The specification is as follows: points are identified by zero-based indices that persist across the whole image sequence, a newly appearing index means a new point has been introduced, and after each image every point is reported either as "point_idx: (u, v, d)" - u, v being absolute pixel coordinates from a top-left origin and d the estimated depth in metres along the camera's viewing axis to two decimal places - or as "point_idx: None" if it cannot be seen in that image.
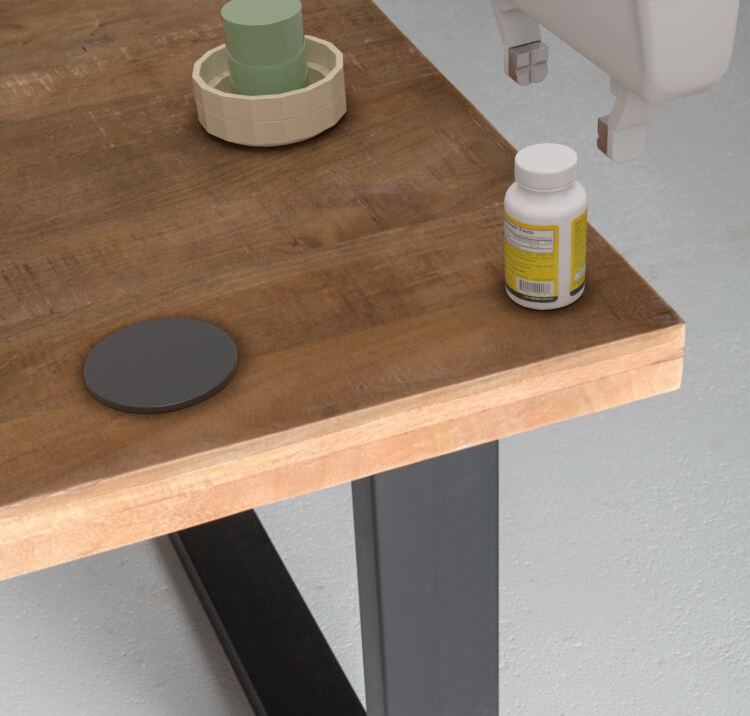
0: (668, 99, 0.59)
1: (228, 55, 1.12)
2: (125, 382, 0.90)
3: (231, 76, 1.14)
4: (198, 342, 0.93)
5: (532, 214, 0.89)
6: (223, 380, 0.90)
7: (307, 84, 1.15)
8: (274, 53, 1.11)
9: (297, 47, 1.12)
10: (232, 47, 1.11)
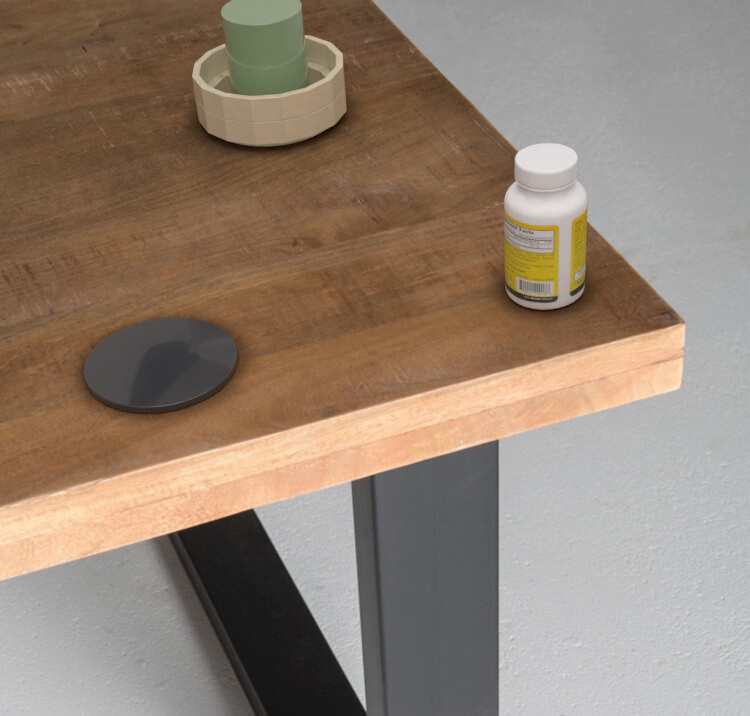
0: None
1: (228, 55, 1.12)
2: (125, 382, 0.90)
3: (231, 76, 1.14)
4: (198, 342, 0.93)
5: (532, 214, 0.89)
6: (223, 380, 0.90)
7: (307, 84, 1.15)
8: (274, 53, 1.11)
9: (297, 47, 1.12)
10: (232, 47, 1.11)
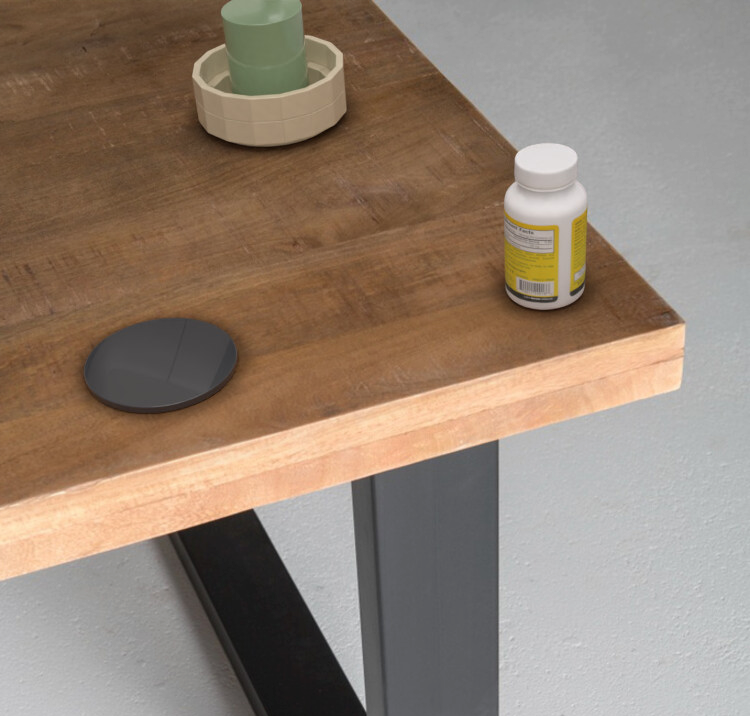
0: None
1: (228, 55, 1.12)
2: (125, 382, 0.90)
3: (231, 76, 1.14)
4: (198, 342, 0.93)
5: (532, 214, 0.89)
6: (223, 380, 0.90)
7: (307, 84, 1.15)
8: (274, 53, 1.11)
9: (297, 47, 1.12)
10: (232, 47, 1.11)
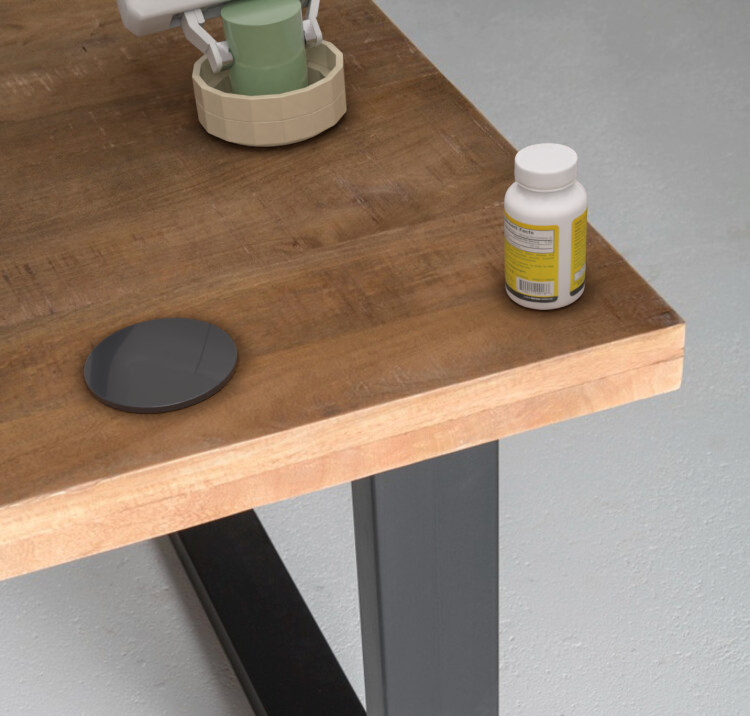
0: None
1: None
2: (125, 382, 0.90)
3: (231, 76, 1.14)
4: (198, 342, 0.93)
5: (532, 214, 0.89)
6: (223, 380, 0.90)
7: (306, 85, 1.15)
8: (273, 53, 1.11)
9: (297, 47, 1.12)
10: (232, 47, 1.11)
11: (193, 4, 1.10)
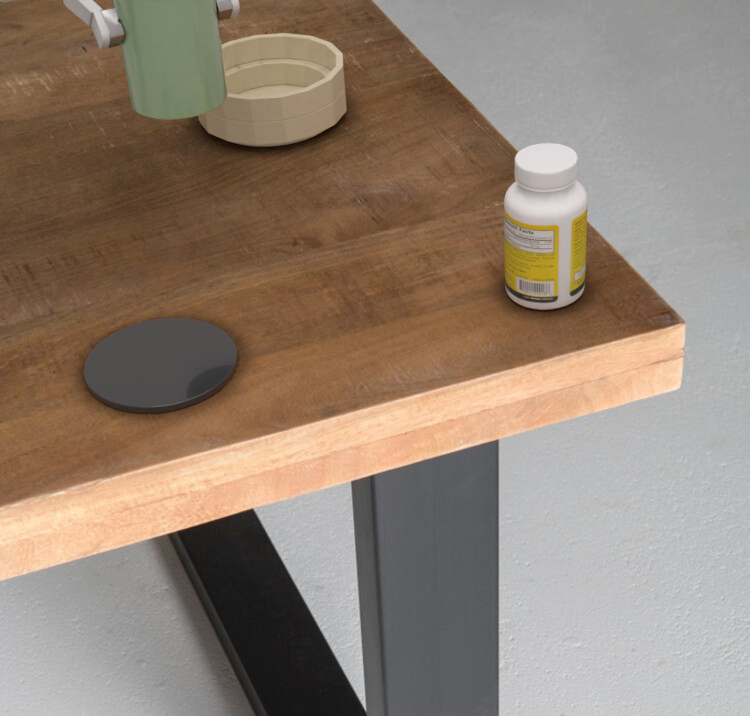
0: None
1: None
2: (125, 382, 0.90)
3: (123, 54, 0.90)
4: (198, 342, 0.93)
5: (532, 214, 0.89)
6: (223, 380, 0.90)
7: (220, 65, 0.91)
8: (174, 23, 0.87)
9: (205, 16, 0.88)
10: (122, 16, 0.87)
11: None
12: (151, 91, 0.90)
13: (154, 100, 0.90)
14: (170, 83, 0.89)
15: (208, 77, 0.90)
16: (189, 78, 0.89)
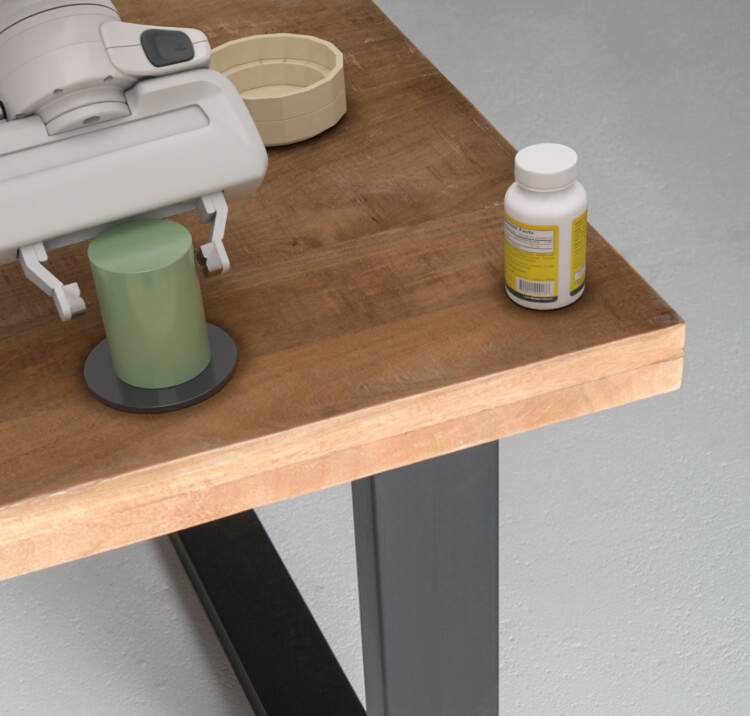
0: None
1: (99, 302, 0.87)
2: None
3: (104, 325, 0.88)
4: None
5: (532, 214, 0.89)
6: (223, 380, 0.90)
7: (203, 334, 0.89)
8: (155, 304, 0.85)
9: (187, 293, 0.86)
10: (102, 295, 0.86)
11: (44, 235, 0.85)
12: (132, 363, 0.88)
13: (136, 371, 0.89)
14: (152, 357, 0.88)
15: (191, 348, 0.89)
16: (171, 352, 0.88)
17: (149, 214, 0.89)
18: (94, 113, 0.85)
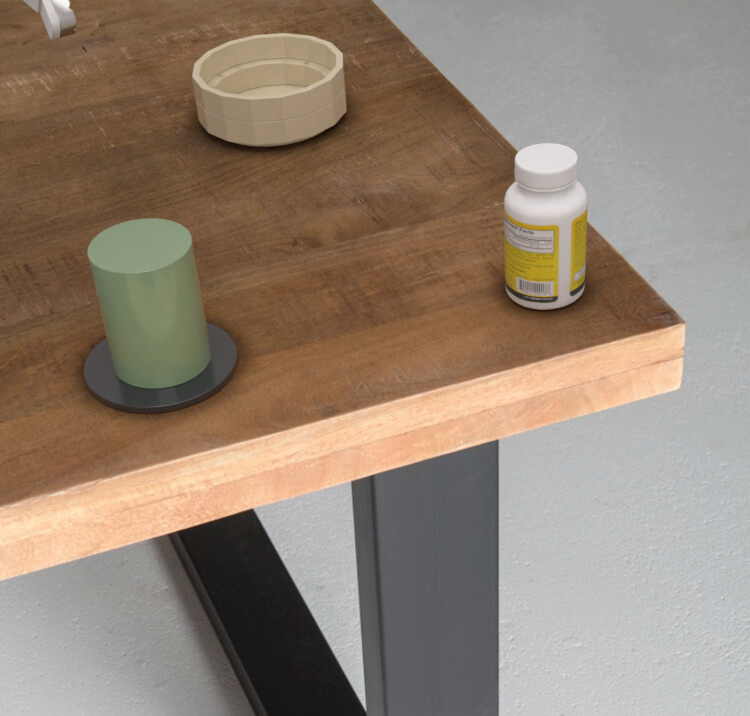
0: None
1: (99, 302, 0.87)
2: None
3: (104, 325, 0.88)
4: None
5: (532, 214, 0.89)
6: (223, 380, 0.90)
7: (203, 334, 0.89)
8: (155, 304, 0.85)
9: (187, 293, 0.86)
10: (102, 295, 0.86)
11: None
12: (132, 363, 0.88)
13: (136, 371, 0.89)
14: (152, 357, 0.88)
15: (191, 348, 0.89)
16: (171, 352, 0.88)
17: None
18: None
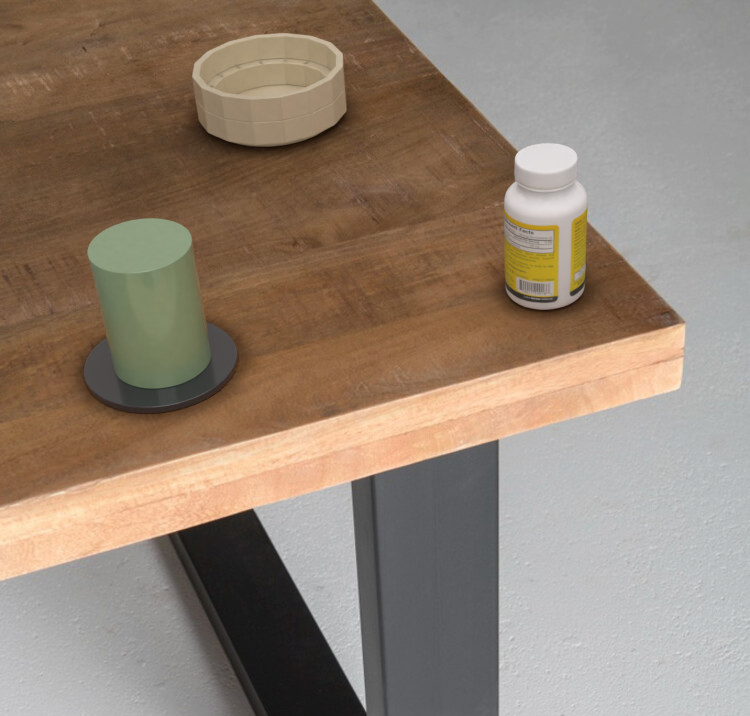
0: None
1: (99, 302, 0.87)
2: None
3: (104, 325, 0.88)
4: None
5: (532, 214, 0.89)
6: (223, 380, 0.90)
7: (203, 334, 0.89)
8: (155, 304, 0.85)
9: (187, 293, 0.86)
10: (102, 295, 0.86)
11: None
12: (132, 363, 0.88)
13: (136, 371, 0.89)
14: (152, 357, 0.88)
15: (191, 348, 0.89)
16: (171, 352, 0.88)
17: None
18: None
